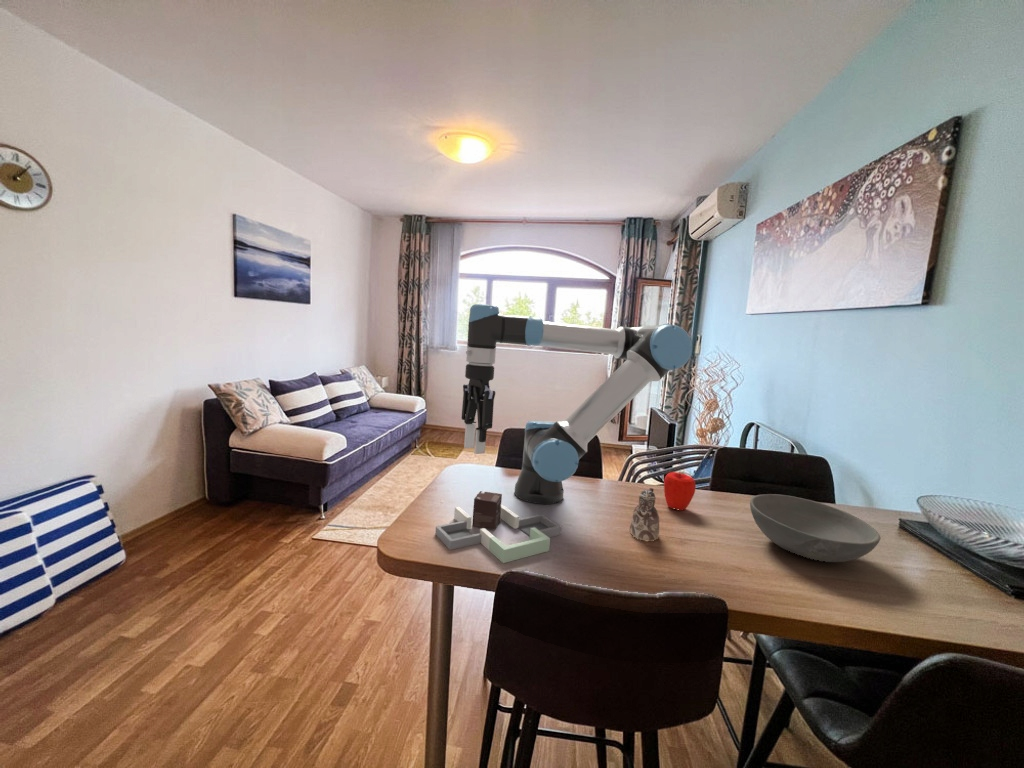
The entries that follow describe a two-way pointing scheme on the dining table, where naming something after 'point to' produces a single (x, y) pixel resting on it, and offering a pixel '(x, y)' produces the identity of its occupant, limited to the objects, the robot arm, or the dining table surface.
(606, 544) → the dining table surface
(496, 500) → the box
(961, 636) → the dining table surface
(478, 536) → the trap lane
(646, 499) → the figurine
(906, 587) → the dining table surface
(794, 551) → the bowl
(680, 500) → the apple
